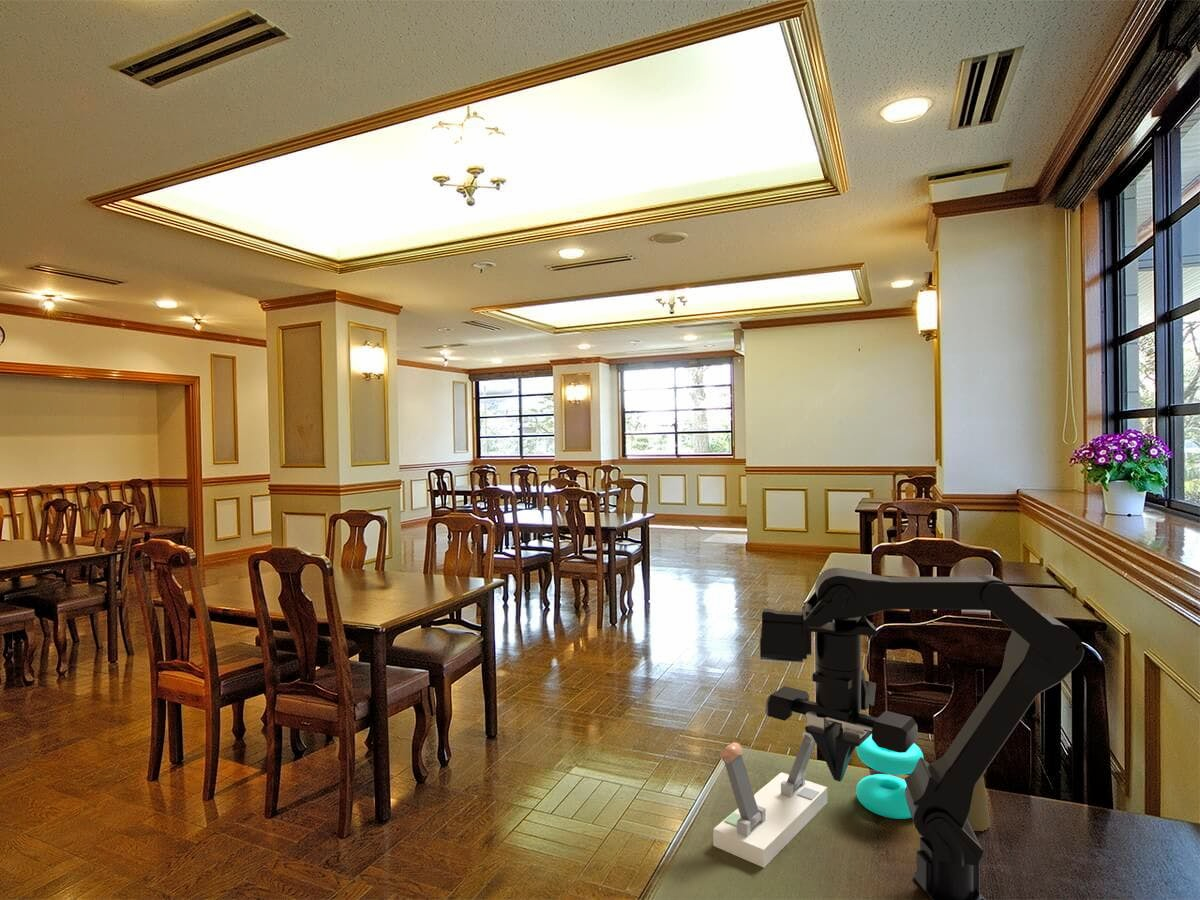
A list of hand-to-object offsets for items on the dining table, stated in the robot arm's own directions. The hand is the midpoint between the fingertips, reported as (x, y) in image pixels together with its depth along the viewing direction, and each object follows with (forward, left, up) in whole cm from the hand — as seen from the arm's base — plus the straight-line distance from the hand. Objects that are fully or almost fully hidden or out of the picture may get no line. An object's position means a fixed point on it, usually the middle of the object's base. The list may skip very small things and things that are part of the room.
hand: (838, 779), depth 93 cm
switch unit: (+5, -13, -13) cm, 19 cm away
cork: (-25, -12, -13) cm, 31 cm away
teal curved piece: (-15, -17, -13) cm, 26 cm away
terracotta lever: (+10, -8, -10) cm, 16 cm away
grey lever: (0, -18, -10) cm, 20 cm away
